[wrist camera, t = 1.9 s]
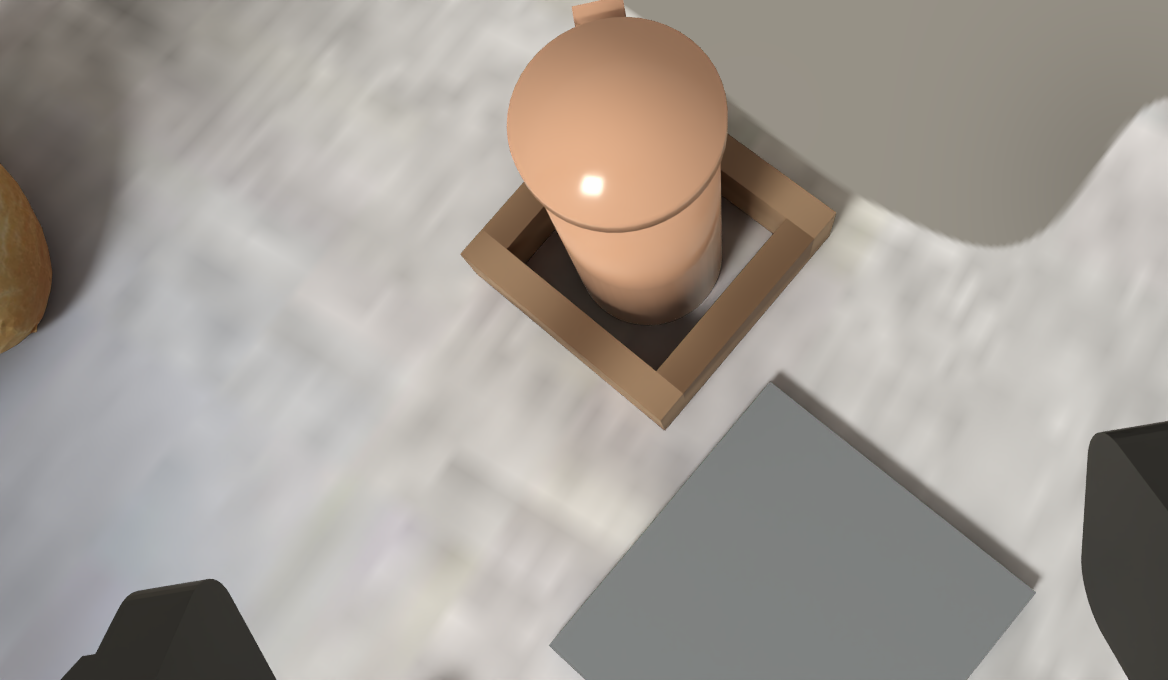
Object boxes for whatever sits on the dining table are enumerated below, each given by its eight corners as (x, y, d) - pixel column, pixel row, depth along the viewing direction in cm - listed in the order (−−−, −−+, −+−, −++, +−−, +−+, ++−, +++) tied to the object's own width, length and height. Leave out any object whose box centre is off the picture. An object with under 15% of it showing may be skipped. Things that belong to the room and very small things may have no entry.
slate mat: (551, 644, 35) (548, 645, 35) (769, 383, 36) (770, 381, 36) (802, 880, 33) (804, 884, 32) (1031, 592, 34) (1036, 592, 33)
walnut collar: (476, 273, 39) (460, 254, 36) (635, 93, 40) (629, 62, 37) (664, 430, 37) (660, 420, 34) (829, 235, 37) (836, 212, 35)
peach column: (741, 314, 37) (747, 198, 26) (585, 343, 38) (523, 242, 26) (703, 126, 39) (692, -62, 27) (555, 156, 40) (484, -16, 28)
